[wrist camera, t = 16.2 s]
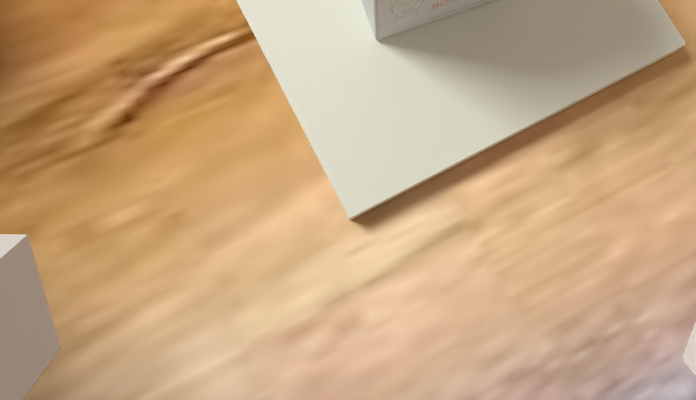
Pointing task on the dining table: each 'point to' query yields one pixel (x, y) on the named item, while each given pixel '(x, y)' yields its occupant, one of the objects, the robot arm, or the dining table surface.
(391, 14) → the small box
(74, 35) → the dining table surface
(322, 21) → the white square board
